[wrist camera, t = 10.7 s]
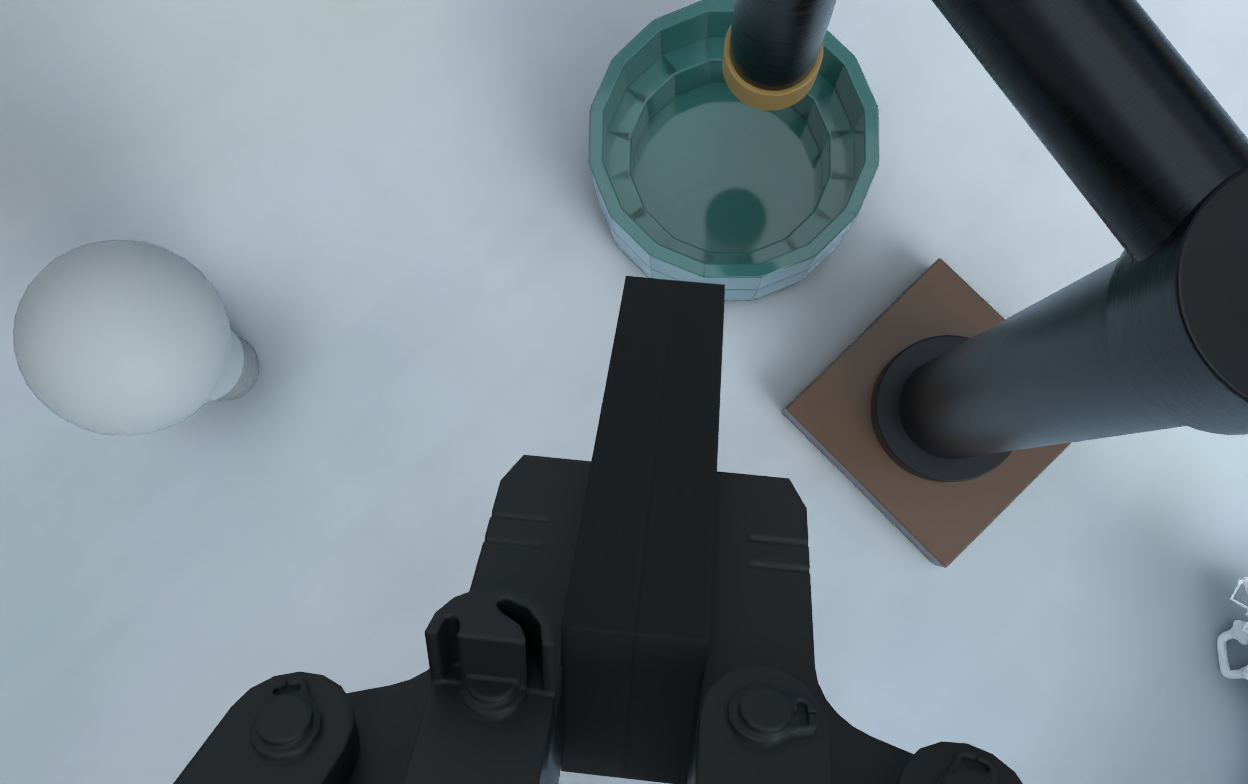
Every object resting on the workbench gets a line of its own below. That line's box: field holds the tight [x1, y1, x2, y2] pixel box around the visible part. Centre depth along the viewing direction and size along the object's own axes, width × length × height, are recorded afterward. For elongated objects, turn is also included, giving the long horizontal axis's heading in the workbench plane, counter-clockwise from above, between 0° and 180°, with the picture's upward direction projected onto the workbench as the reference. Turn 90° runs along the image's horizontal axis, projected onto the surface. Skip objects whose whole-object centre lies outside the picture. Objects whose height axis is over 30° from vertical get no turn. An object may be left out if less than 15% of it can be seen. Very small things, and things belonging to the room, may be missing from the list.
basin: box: [589, 0, 879, 300], centre depth 37 cm, size 10×10×4 cm
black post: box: [783, 258, 1187, 568], centre depth 28 cm, size 8×8×20 cm
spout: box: [722, 0, 1248, 435], centre depth 23 cm, size 16×4×14 cm, turn 34°
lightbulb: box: [13, 240, 259, 436], centre depth 34 cm, size 6×6×11 cm
